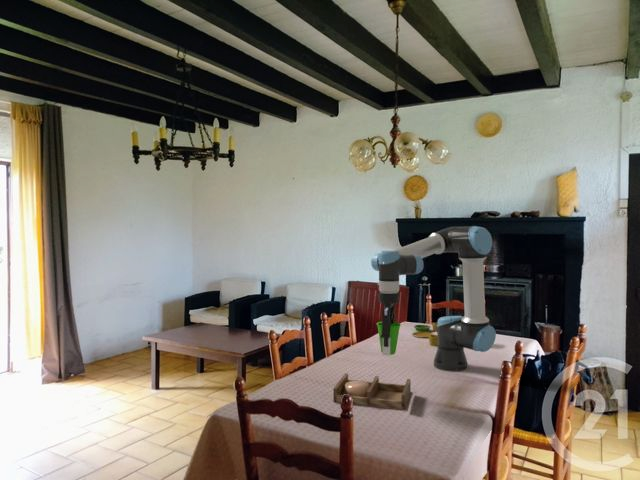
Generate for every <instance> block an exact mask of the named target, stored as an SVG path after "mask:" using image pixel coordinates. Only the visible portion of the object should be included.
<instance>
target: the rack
mask: <svg viewBox="0 0 640 480" xmlns="http://www.w3.org/2000/svg"><path fill="white" fill-rule="evenodd" d="M379 377H380V376H379V375H376V376H374V379H373V380H372V381H366V380H365V381H364V380H362V381H363V382H366V383H368V384H369V389H368V391H367V397H358V396H351V397H352V399H353V404H352V405H355V406H357V405H358V406H366V407H376V408H386V409H397V410H402V411H404V410H406V408H407V405H408V402H409V400H410V399H409V398H410V394H411V378H407V379H406V381H405V384H398V383H385V382H379V380H380V379H379ZM350 381H357V380H356V379H355V380H353V379H349V373H344V374H343V375H342V377H341V378H340V380H338V382H337V383H336V385H334V387H333V389H332V390H333V403H336V404H337V403H338V404H342V403H341V399H342V397H343V395H344V394H345V384H346V383H347V382H350Z"/></svg>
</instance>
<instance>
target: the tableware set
mask: <svg viewBox="0 0 640 480" xmlns="http://www.w3.org/2000/svg"><path fill="white" fill-rule="evenodd" d="M431 326H432V331H433V332H435V333H437V326H438V322H432V325H431ZM431 326H430V325H427V324H415V325H413V328H414V329H415V332H413V333H412V334H411V336H413V337H414V338H418V339H428V342H429V346H432V347H438V339H437V334H434V333H432V332H429V330H430V329H431Z"/></svg>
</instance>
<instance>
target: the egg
mask: <svg viewBox="0 0 640 480" xmlns="http://www.w3.org/2000/svg"><path fill="white" fill-rule="evenodd" d="M363 381H364V380H356V381H350V382H347V383H346V384H345V394H349V395H350V396H358V397H367V391H368V389H369V384H368V383H366V382H363Z"/></svg>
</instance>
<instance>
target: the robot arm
mask: <svg viewBox="0 0 640 480" xmlns="http://www.w3.org/2000/svg"><path fill="white" fill-rule="evenodd" d="M492 248H493V239H492V235H491V233H490V232H489V231H488V229H487V228H485V227H482V226H477V225H472V226H450V227H446V228H444V229H443V228H442V229H441V230H438V231H435V232H432V233H431V234H430V235H428V237H426V238H424V239H420V240H418V241H415V242H413V243H410V244H409V243H408V244H407V245H405V246H401V247H399V248H396V249H394V250H381V251H380V252H379V253H375V254H374V255H373V256H372V257H371V259H370V260H371V261H370V263H371V264H370V265H371V267H372V269H373V270H374V271H376V272H378V280H379V281H378V282H377V286H378V291H379V292H378V302H379V303H380V304H384V306H383V308H382V310H381V313H382V321H381V322H382V335H381V336H380V337H381V338H383V354H382V356H386V357H387V356H388V357H389V356H391V355H390V326H391V324H394V322H396V304H398V303H400V293H399V292H400V276H406V275H412V276H414V275H418V274H420V273H421V272H422V271H423V270H424V260H423V259H424V258H427V257H429V256H432V255H434V254H435V255H441V254H443V253H456V254H457V253H458V254H457V255H458V259H459V261H461V262H462V281H463V283H462V284H463V286H462V287H463V307H464V316H462V315H448V316H447V315H446V316H441V317H439V318H438V319H437V323H438V326H437V332H436V333H437V334H436V335H437V339H438V346H437V349H436V353H435V355H434V358H433V366H434V367H435V368H436V369H439V370H443V371H448V372H449V371H450V372H457V371H458V372H460V371H464V370H467V369H468V361H467V360H468V359H467V357H466V354H465V350H464V349H468V350H471V351H474V352H481V353H485V352H487V351H490V349H492V348H493V345H494V344H495V341H496V336H497V333H496V330H495V328H494V327H493V326H492V325H490V319H489V317H487V316H486V302H485V301H486V300H485V299H486V298H485V274H484V271H485V269H484V262H485V260H486V259H488V258H487V257H488V256H487V255H488V254H490V252H491V250H492ZM385 333H387V334H385Z"/></svg>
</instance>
